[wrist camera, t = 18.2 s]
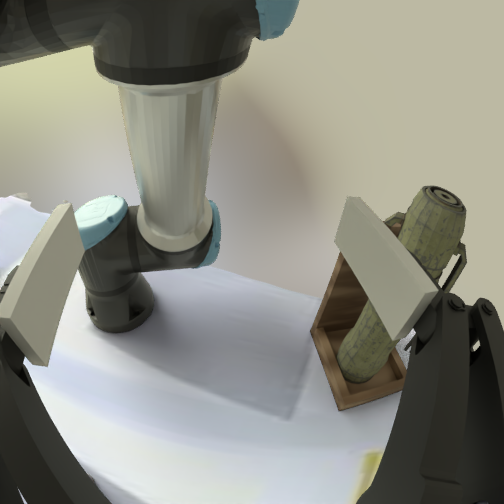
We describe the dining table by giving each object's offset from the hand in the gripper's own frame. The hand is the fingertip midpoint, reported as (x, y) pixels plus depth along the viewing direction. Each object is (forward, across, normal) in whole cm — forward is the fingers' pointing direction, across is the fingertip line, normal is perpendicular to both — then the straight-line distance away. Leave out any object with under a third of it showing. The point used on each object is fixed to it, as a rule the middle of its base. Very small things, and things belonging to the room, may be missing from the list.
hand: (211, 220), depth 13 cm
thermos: (+9, +26, -37) cm, 46 cm away
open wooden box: (+10, +28, -38) cm, 48 cm away
